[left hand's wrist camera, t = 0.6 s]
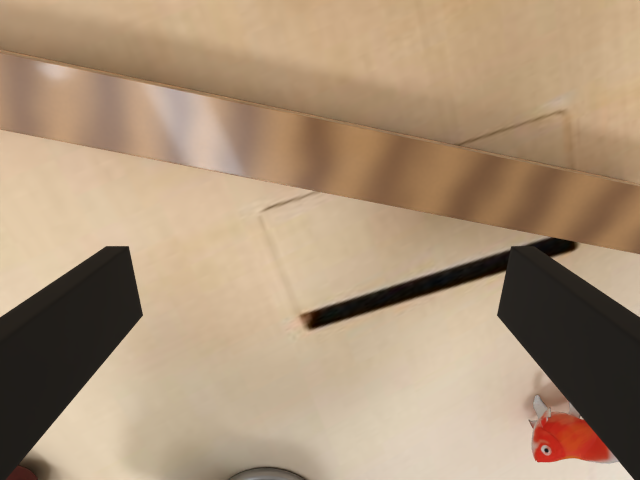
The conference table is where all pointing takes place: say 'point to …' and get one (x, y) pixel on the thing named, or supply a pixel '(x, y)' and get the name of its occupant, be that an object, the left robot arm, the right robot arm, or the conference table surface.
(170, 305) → the conference table surface
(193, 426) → the conference table surface
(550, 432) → the fish
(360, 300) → the conference table surface
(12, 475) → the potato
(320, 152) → the beam
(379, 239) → the conference table surface
